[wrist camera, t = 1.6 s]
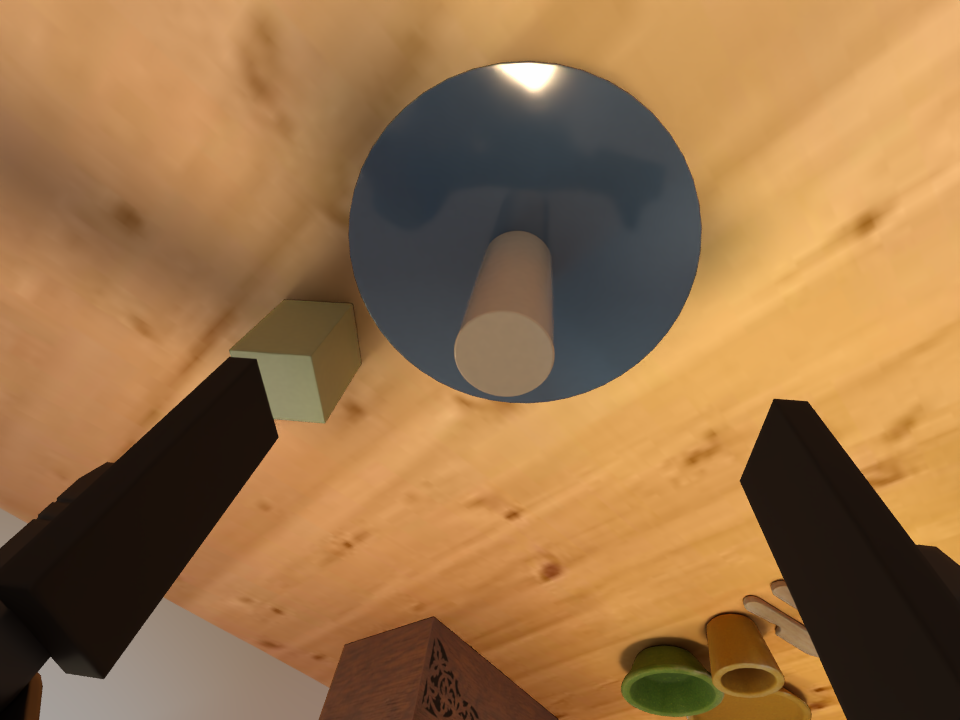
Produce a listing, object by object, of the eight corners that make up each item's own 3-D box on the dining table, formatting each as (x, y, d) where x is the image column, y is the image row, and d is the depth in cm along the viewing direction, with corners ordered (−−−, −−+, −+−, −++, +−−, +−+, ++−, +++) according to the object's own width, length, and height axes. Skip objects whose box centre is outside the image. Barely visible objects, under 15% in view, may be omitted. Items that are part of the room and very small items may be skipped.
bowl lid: (375, 379, 28) (309, 503, 20) (333, 58, 19) (191, 58, 12) (655, 401, 26) (699, 543, 19) (740, 62, 18) (887, 66, 10)
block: (297, 359, 36) (249, 417, 31) (284, 299, 34) (228, 350, 28) (361, 364, 36) (325, 423, 30) (352, 303, 33) (310, 356, 27)
